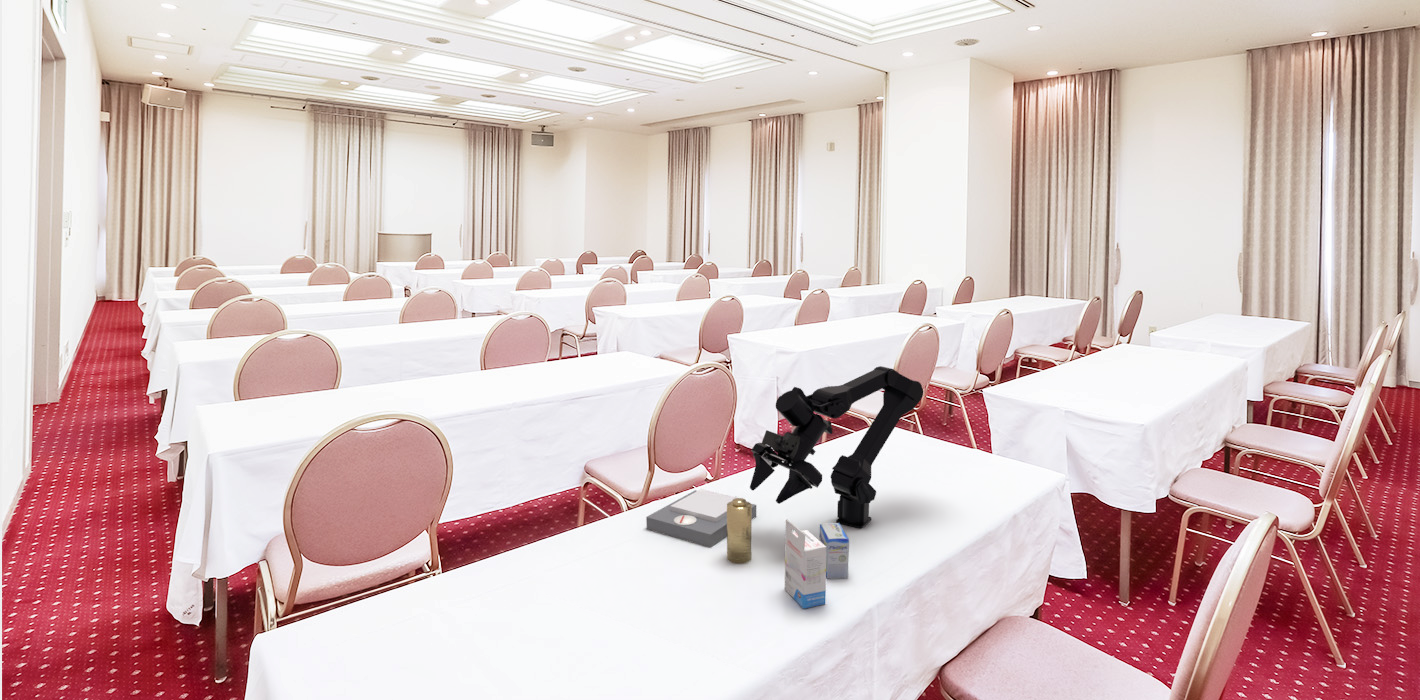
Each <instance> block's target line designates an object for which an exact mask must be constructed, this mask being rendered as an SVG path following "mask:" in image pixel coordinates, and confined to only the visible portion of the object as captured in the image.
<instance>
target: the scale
mask: <svg viewBox="0 0 1420 700" xmlns="http://www.w3.org/2000/svg"><path fill="white" fill-rule="evenodd" d="M735 498H738V497H737V496H732V495H729V494H724V493H719V492H717V491H716V492H715V491H711V490H707V489H702V488H700V489H699V490H696V489H695V490H693V491H691V492H690V493H687V494H686V495H684V496H683V497H681V498H678V499H677V500H674V501H673V502H671V503H669V504H667V505H665V506H664V507H662V508H661V509H658V510H657V511H655V512H653V513H650V514H649V515H648V516H646V517H645V518H646V521H645V522H646V530H648V531H652V532H656V533H659V534H663V535H666V536H670V537H673V538H676V539H680V540H683V539H684V540H683V541H687V540H688V542H690V541H691V542H690V543H694V542H695V543H694V544H697V543H698V545H702V546H704V545H705V547H708V548H712V547H713V546H715V545H717V544H718V543H719V542H721V541H723V540H724V539H726V538H727V504H728V503H729V502H731V501H733V499H735ZM751 505H752V520H754V519H755V518H756V517H757V504H755V503H751ZM754 517H755V518H754ZM753 518H754V519H753Z"/></svg>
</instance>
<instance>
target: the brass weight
mask: <svg viewBox="0 0 1420 700" xmlns="http://www.w3.org/2000/svg"><path fill="white" fill-rule="evenodd" d="M751 504H752V503H751V502H750V501H747V500H746V499H745V498H742V497H737V498H735V499H733V501H731V502H729V503H728V504H727V537H726V558H727V560H728V562H730V563H733V564H737V565H740V564H741V565H742V564H747V563H749V562H751V561H752V528H753V527H752V521H753V519H752V505H751Z"/></svg>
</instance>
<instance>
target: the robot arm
mask: <svg viewBox="0 0 1420 700" xmlns="http://www.w3.org/2000/svg"><path fill="white" fill-rule="evenodd" d="M880 390H884V392H883V393H882V395H883V396H882V397H883V399H882V401H883V405H882V407H881V408H880V410H879V411H878V412H877V415H876V417H874V420H873V421H872V422H871V424H870V426H869V428H868V429H867V431H866V433H865V434H864V436H863V437H862V438H861V440H860V442H859V444H858V445H857V447H856V448H855V450H854V451H853V452H852V454H850V455H848V456H846V455H840V457H838V460H837V462H836V464H835V465H834V466H833V467H831V469H832V472H831V474H830V482H831V486H832V487H833V491H834V493H835V494H836V495H839V500H837V511H836V512H837V513H836V514H837V519H836V520H835V521H836V522H835V523H840V525H845V526H848V527H849V526H850V527H854V528H859V529H862V528H864V526H866V525H867V524H868V523H869V522H871V520H872V517H871V516H870V515H869V514H870V504H871V503H872V501H875V498H876V495H877V490H876V489H875V488H874V487H873V486H872V485H871V484H870V482H871V479H872V465H873V464H874V462H875V460H876V458H877V457H878V456H879V454H880V452H881V450H882V449H883V447H884V446H885V444H886V442H887V440H888V439H889V437H890V436H891V434H892V433H893V431H894V429H895V428H896V426H897V424H898V423H899V421H900V419H901V418H902V417H903V416H904V415H906V414H907V413H908V414H909V412H911V411H913V410H914V409H915V408H916V407H917V405H918V404H919V403H920V402H921V400H922V398H923V396H924V389H923V386H922V383H921V382H920V381H917V380H914V379H912V378H911V379H910V378H909V377H907V376H904V375H903V374H901V373H900V372H898V371H897V370H895V369H894V368H890V367H885V366H882V365H881V366H876V367H875V368H873V370H871V371H869V372H866V373H864V374H862V375H860V376H859V377H856V378H854V379H851V380H850V381H848V382H845V383H844V384H840V385H830V386H825V387H822V388H821V387H820V388H818V389H816V390H815V391H813V392H812V393H811V394H808V395H806V394H805V392H804V391H803V389H802V388H800V387H797V386H794V387H793V388H792V389H791V390H788V391H786V392H784V393H783V394H781V395H779V397H778V398H777V399H776V402H775V410H776V411H777V412H779V414H780V415H782V417H783V418H785V420H786V421H787V422H788V423H789V424H790V425H791V426H793V427H794V429H793V431H792V432H790V431H787V432H785V433H784V434H783V435H782V434H778V433H775V432H772V431H770V430H767V429H766V430H765V433H764V436H763V439H762V441H761V442H757V443H755V444H754V445H753V447H752V448H751V450H750V451H751V452H752V457H753V458H754V461H755V466H754V467H755V468H754V472H753V476H752V478H751V481H750V485H749V489H750V490H751V491H755V490H756V489H757V488H758V487H760V485H762V484H763V483H764V482H765V481H766V480H767V478H769V477H770V476H771V475H773V473H774V472H775V471H776V470H775V469H774V468H776V467H778V466H780V467H782V468H785V469H788V470H789V471H788V480H787V481H785V484H784V486H783V487H782V488H781V490H780V492H779V494H778V496H777V497H776V499H775V502H776V503H777V504H781V503H784V502H785V501H787V500H788V499H790V498H792V497H795V496H796V495H798V494H800V493H802V492H804V491H806V490H809V489H810V490H812V489H813V487H814V488H818V487H819V486H820V484H821V483H822V481H823V474H822V473H821V472H820V471H819V470H818V469H817V468H816V466H814V464H813V463H811V462H809V461H807V458H808V456H809V455H811V456H814V455H815V453H816V450H815V449H814V447H816V445H817V443H818V442H819V440H820V439H821V438H822V436H823V435H824V433H826V434H829V435H833V433H834V432H833V427H832V421H829V420H828V419H825V418H823V417H822V416H825V417H827V418H831V419H834V420H836V419H839V418H840V417H842V416H843V415H845V414H846V413H847V412H848V411H850V409H851V407H852V405H853V404H855V403H856V402H858V401H860V400H862V399H864V398H866V397H868V396H869V395H872V394H874V393H876V392H878V391H880Z"/></svg>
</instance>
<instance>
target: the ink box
mask: <svg viewBox="0 0 1420 700" xmlns="http://www.w3.org/2000/svg"><path fill="white" fill-rule="evenodd" d="M784 535H785V538H784V541H785V542H784V544H785V545H784V547H785V548H784V590H785V591H787V593H788V594H789V595H790V596H791V598H793V599H794V601H795V602H796V603H797V604H798V605H799V606H800V607H801V608H802V609H808V608H812V607H817V606H823V605H826V593H827V592H826V591H827V590H826V588H827V583H826V582H827V577H826V551H827V547H826V546H825V545H824V544H823V543H821V542H820V541H819V539H818V538H817V537H816V536H815V535H813V533H811V532H810V531H809V530H808V529H804V530H801V529H799V528H798V527H797V526H795V524H793V523H792V522H790V521H789V520H788V518H786V519H785V534H784Z"/></svg>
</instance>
